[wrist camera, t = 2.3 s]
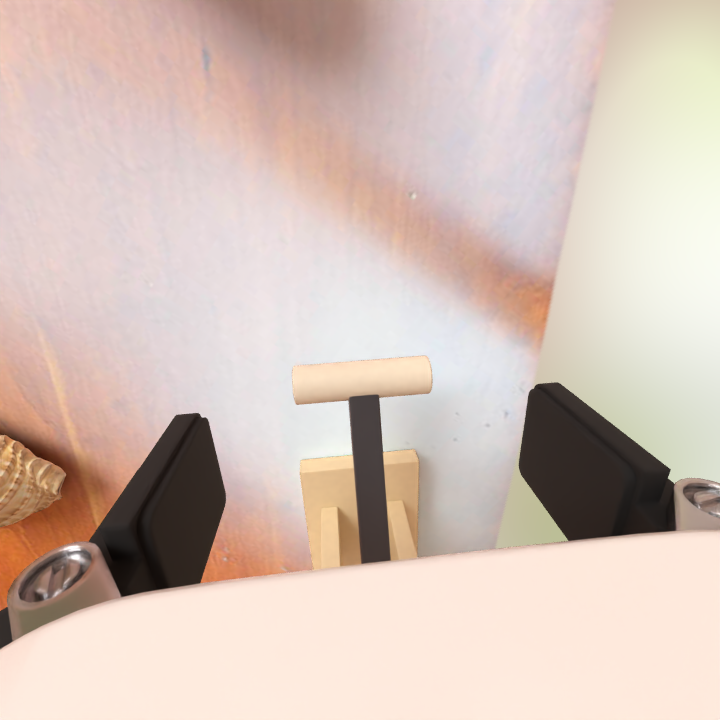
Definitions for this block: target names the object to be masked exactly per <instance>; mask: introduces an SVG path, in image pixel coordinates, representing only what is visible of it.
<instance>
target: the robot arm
mask: <svg viewBox="0 0 720 720" xmlns="http://www.w3.org/2000/svg"><path fill="white" fill-rule="evenodd" d="M519 469H520V473H521V475H522V477H523V478H524V479H525V481H526V482H527V484H528V485H529V486H530V488H531V489H532V490H533V492H534V493H535V495H536V496H537V497H538V499H539V500H540V501H541V503H542V504H543V506H544V507H545V508H546V510H547V511H548V513H549V514H550V516H551V517H552V518H553V520H554V521H555V522H556V524H557V525H558V527H559V528H560V529H561V531H562V532H563V533H564V535H565V536H566V538H567V539H568V541H564V542H554V543H545V544H536V545H527V546H518V547H508V548H499V549H489V550H480V551H471V552H462V553H453V554H444V555H435V556H426V557H418V558H409V559H400V560H391V561H383V562H374V563H365V564H357V565H348V566H340V567H331V568H323V569H315V570H306V571H298V572H289V573H281V574H273V575H264V576H256V577H248V578H239V579H231V580H223V581H215V582H207V583H200V582H201V579H202V576H203V573H204V569H205V566H206V563H207V560H208V557H209V554H210V551H211V548H212V545H213V541H214V538H215V535H216V532H217V529H218V526H219V523H220V520H221V516H222V513H223V510H224V507H225V502H226V493H225V489H224V484H223V480H222V476H221V472H220V468H219V463H218V459H217V455H216V451H215V447H214V442H213V438H212V434H211V430H210V426H209V422H208V419H207V418H201V416H200V414H199V413H193V414H181V415H176V416H175V417H174V419H173V420H172V422H171V423H170V424H169V426H168V427H167V429H166V430H165V432H164V433H163V435H162V436H161V438H160V439H159V441H158V442H157V443H156V445H155V446H154V448H153V449H152V451H151V452H150V454H149V455H148V457H147V458H146V460H145V461H144V463H143V464H142V465H141V467H140V468H139V469H138V470H137V472H136V473H135V475H134V476H133V478H132V479H131V481H130V482H129V484H128V485H127V486H126V488H125V489H124V491H123V492H122V494H121V495H120V497H119V498H118V500H117V501H116V502H115V504H114V505H113V507H112V508H111V510H110V511H109V513H108V514H107V516H106V517H105V519H104V520H103V521H102V523H101V524H100V526H99V527H98V529H97V530H96V532H95V533H94V535H93V536H92V537H91V539H90V540H89V542H74V543H70V544H66V545H63V546H61V547H58V548H56V549H54V550H51V551H49V552H48V553H46V554H44V555H43V556H41V557H39V558H38V559H36V560H35V561H34V562H32V563H31V564H30V565H29V566H27V567H26V568H25V569H24V570H23V571H22V572H21V573H20V574H19V575H18V576H17V578H16V579H15V580H14V581H13V583H12V585H11V587H10V589H9V590H8V596H7V605H8V607H6V608H5V609H3V610H1V611H0V720H720V483H717V482H714V481H710V480H705V479H700V478H686V479H681V480H679V481H678V482H676V483H675V484H674V483H673V482H672V481H670V480H669V479H668V476H669V473H670V469H669V468H668V467H667V466H665V465H664V464H663V463H661V462H660V461H659V460H658V459H656V458H655V457H654V456H653V455H651V454H650V453H648V452H647V451H646V450H645V449H643V448H642V447H641V446H640V445H638V444H637V443H636V442H635V441H633V440H632V439H631V438H629V437H628V436H627V435H626V434H624V433H623V432H622V431H620V430H619V429H618V428H616V427H615V426H614V425H613V424H611V423H610V422H609V421H607V420H606V419H605V418H604V417H602V416H601V415H600V414H598V413H597V412H596V411H595V410H593V409H592V408H591V407H589V406H588V405H587V404H586V403H584V402H583V401H582V400H580V399H579V398H578V397H577V396H575V395H574V394H573V393H571V392H570V391H569V390H568V389H566V388H565V387H564V386H562V385H561V384H559V383H545V384H537V385H536V386H535V388H534V389H532V390H530V392H529V396H528V403H527V410H526V417H525V424H524V431H523V437H522V444H521V452H520V458H519Z"/></svg>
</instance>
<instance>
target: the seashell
mask: <svg viewBox="0 0 720 720" xmlns="http://www.w3.org/2000/svg"><path fill="white" fill-rule="evenodd" d="M65 476H66V473H65V472H64V471H63V470H62V468H60V467H58V466H56V465H54V464H53V463H51V462H49V461H46V460H44V459H41V458H38V457H36V456H35V455H34V454H33V453H32V452H31V451H30V450H29V449H28V448H25V447H24V446H23V445H22V444H21V443H20V442H18V441H14V440H12V439H11V438H9V437H8V436H7V435H0V527H3V526H7V525H10V524H13V523H16V522H18V521H20V520H23V519H24V518H26V517H27V516H29V515H30V514H31V513H35V512H38V511H41V510H43V509H45V508H47V507H49V506H50V505H51V504H52V503H54V501H55V500H60V499H61V498H62V495H61V492H60V490H61V487H62V484H63V481H64V479H65Z"/></svg>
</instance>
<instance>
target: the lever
mask: <svg viewBox="0 0 720 720" xmlns="http://www.w3.org/2000/svg"><path fill="white" fill-rule="evenodd" d="M292 384H293V394H294V400H295V403H296V404H297V405H299V404H311V403H323V402H334V401H346V400H349V413H350V426H351V439H352V452H353V465H354V478H355V491H356V504H357V517H358V530H359V543H360V556H361V564H365V563H374V562H383V561H391V556H390V542H389V528H388V515H387V501H386V487H385V473H384V459H383V445H382V431H381V417H380V403H379V398H381V397H393V396H405V395H416V394H428V393H430V392H431V389H432V369H431V364H430V361H429V359H428V357H427V356H412V357H399V358H387V359H374V360H361V361H349V362H336V363H323V364H311V365H298V366H293V370H292Z"/></svg>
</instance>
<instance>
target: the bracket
mask: <svg viewBox="0 0 720 720" xmlns="http://www.w3.org/2000/svg"><path fill="white" fill-rule="evenodd" d="M383 459H384V473H385V487H386V501H387V515H388V528H389V542H390V556H391V560H400V559H409V558H418V557H417V543H418V493H419V460H418V457H417V454H416V451H415V449H411V450H400V451H390V452H383ZM300 479H301V486H302V493H303V501H304V508H305V515H306V522H307V529H308V537H309V544H310V551H311V558H312V565H313V570H315V569H323V568H331V567H340V566H348V565H357V564H361V556H360V543H359V530H358V517H357V504H356V491H355V478H354V465H353V455H347V456H337V457H326V458H316V459H305V460H301V463H300Z"/></svg>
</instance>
